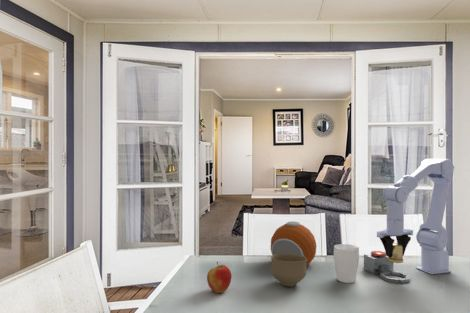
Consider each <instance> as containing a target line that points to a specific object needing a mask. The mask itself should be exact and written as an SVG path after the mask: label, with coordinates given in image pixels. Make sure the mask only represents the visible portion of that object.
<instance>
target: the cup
mask: <svg viewBox="0 0 470 313" xmlns="http://www.w3.org/2000/svg"><path fill="white" fill-rule="evenodd" d="M333 260H334V261H333V262H334V268H335V275H336V280H337V281H339V282H341V283H344V284H352V283H356V281H357V276H358V268H359V262H360V247H358V246H357V245H354V244H349V243H348V244H347V243H339V244H335V245H334V246H333Z"/></svg>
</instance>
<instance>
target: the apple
mask: <svg viewBox="0 0 470 313" xmlns="http://www.w3.org/2000/svg"><path fill="white" fill-rule="evenodd" d="M218 263H219V262H218V261H216V265H217V266H215V267H213V268H210V270H209V271H208V272H207V275H206V281H207V285H208V287H209V288H210V290H211V291H212V292H214V293H216V294H222V293H224V292H226V291H227V290H228V288H229V287H230V285H231V283H232V272H231V270H230V268H229V267H228V266H226V265H225V264H218Z"/></svg>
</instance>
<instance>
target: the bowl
mask: <svg viewBox="0 0 470 313" xmlns="http://www.w3.org/2000/svg"><path fill="white" fill-rule="evenodd" d="M270 259H271V268H270V269H271V274H272V276H273V277H274V278H275V279H276V280H277V281H278V282H279V283H280V284H281V285H282V286H284V287H295V286H297V284H298V283H300V282H301V281H302V280H304V279H305V277H306V275H307V267H306V262H307V258H306V257H304V256H300V255H294V254H276V255H272V254H271V256H270Z"/></svg>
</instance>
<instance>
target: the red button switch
mask: <svg viewBox="0 0 470 313" xmlns="http://www.w3.org/2000/svg"><path fill="white" fill-rule="evenodd" d="M363 270H364V271H366V272H368V273H370V274H372V275H380V277H379V278H380V279H382V280H384V281H385V282H388V283H395V284H400V285H401V284H405V283H407V284H408V283H410V279H411V278H410V275H409V274H407V273H405V272H401V271H397V270H396V271H395V270H394V263H393V262H390V261H388V256H386V252H385V251H382V250H381V251H380V250H372V251H370V253H364V254H363ZM389 276H396V277H397V276H398V277H401V278H395V277H389Z"/></svg>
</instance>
